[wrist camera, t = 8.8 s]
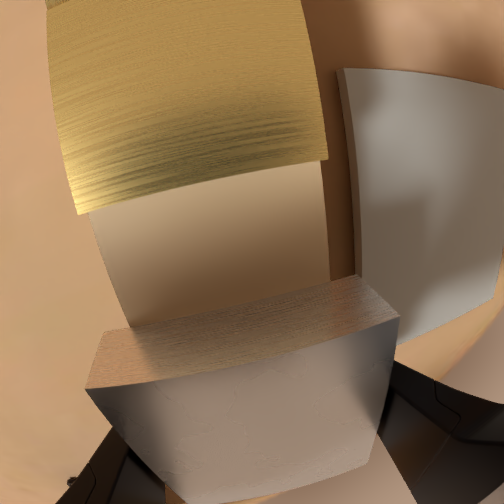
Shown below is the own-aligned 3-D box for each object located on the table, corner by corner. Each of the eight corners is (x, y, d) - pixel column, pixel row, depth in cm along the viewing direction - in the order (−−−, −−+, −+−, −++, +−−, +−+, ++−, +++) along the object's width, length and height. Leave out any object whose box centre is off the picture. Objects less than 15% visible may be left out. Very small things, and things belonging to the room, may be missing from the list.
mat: (486, 293, 14) (492, 298, 14) (353, 352, 13) (358, 360, 13) (497, 89, 10) (505, 90, 9) (335, 70, 9) (343, 67, 8)
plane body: (310, 407, 14) (332, 457, 11) (210, 430, 14) (218, 485, 11) (244, -48, 6) (265, -104, 3) (89, -16, 6) (55, -63, 3)
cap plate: (347, 426, 10) (367, 463, 8) (187, 464, 9) (191, 506, 8) (357, 273, 7) (400, 315, 6) (103, 331, 7) (84, 389, 5)
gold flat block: (269, -49, 4) (309, 155, 6) (63, -7, 3) (93, 202, 5) (281, -72, 3) (331, 159, 5) (46, -25, 2) (76, 216, 4)
